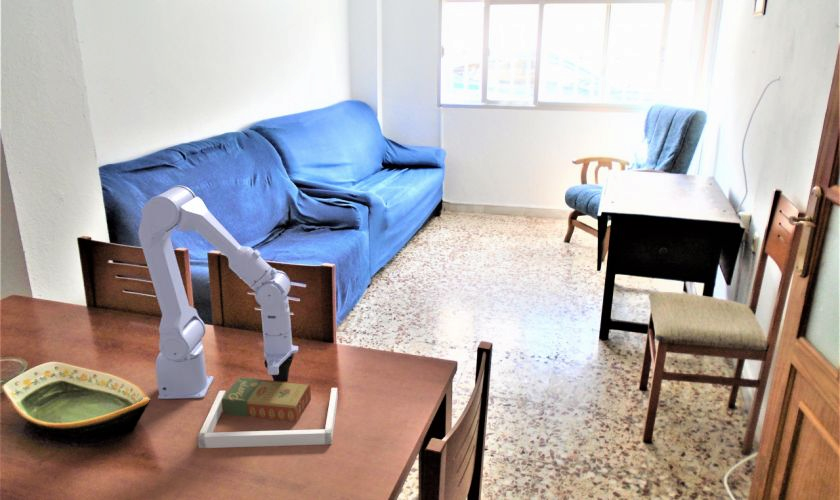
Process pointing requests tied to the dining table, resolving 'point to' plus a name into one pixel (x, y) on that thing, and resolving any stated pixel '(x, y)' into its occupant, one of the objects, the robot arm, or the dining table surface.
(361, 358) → the dining table surface
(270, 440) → the bay
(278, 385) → the carton
